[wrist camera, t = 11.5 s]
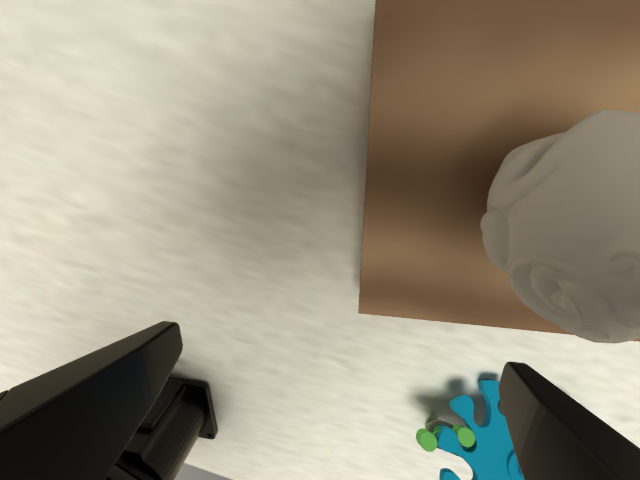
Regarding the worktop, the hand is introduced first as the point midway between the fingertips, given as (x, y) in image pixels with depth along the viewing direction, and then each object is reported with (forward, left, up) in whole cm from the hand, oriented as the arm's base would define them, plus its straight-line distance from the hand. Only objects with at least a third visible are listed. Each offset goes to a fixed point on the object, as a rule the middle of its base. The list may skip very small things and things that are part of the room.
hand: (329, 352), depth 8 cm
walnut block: (+3, -8, -12) cm, 15 cm away
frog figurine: (+3, -8, -8) cm, 12 cm away
